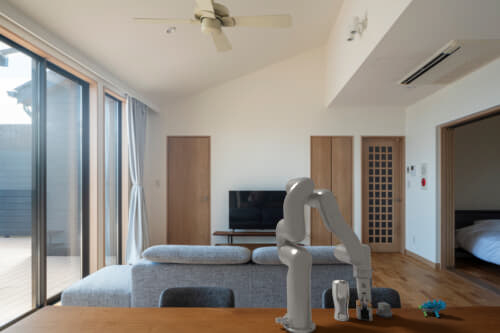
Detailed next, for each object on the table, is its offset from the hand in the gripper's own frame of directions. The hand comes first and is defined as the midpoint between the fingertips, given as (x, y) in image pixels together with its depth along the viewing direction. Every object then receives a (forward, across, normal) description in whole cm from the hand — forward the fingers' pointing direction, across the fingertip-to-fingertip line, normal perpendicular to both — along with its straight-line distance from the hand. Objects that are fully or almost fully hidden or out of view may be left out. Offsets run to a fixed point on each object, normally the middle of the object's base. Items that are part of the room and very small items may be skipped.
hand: (364, 315), depth 124 cm
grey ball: (+1, +5, -9) cm, 10 cm away
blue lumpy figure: (+1, +11, -29) cm, 31 cm away
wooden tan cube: (+1, 0, 0) cm, 1 cm away
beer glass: (+1, -4, +9) cm, 10 cm away
